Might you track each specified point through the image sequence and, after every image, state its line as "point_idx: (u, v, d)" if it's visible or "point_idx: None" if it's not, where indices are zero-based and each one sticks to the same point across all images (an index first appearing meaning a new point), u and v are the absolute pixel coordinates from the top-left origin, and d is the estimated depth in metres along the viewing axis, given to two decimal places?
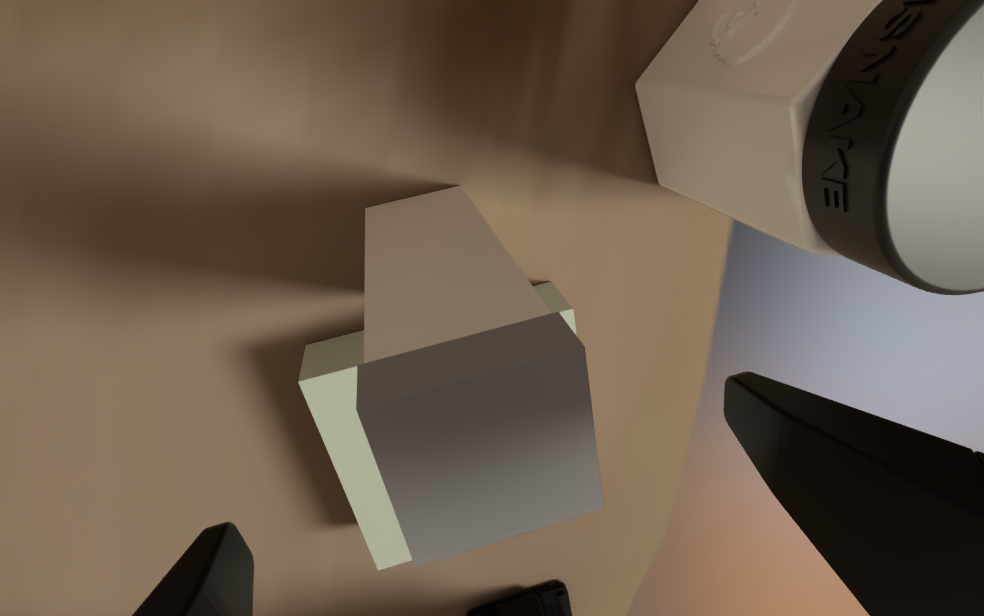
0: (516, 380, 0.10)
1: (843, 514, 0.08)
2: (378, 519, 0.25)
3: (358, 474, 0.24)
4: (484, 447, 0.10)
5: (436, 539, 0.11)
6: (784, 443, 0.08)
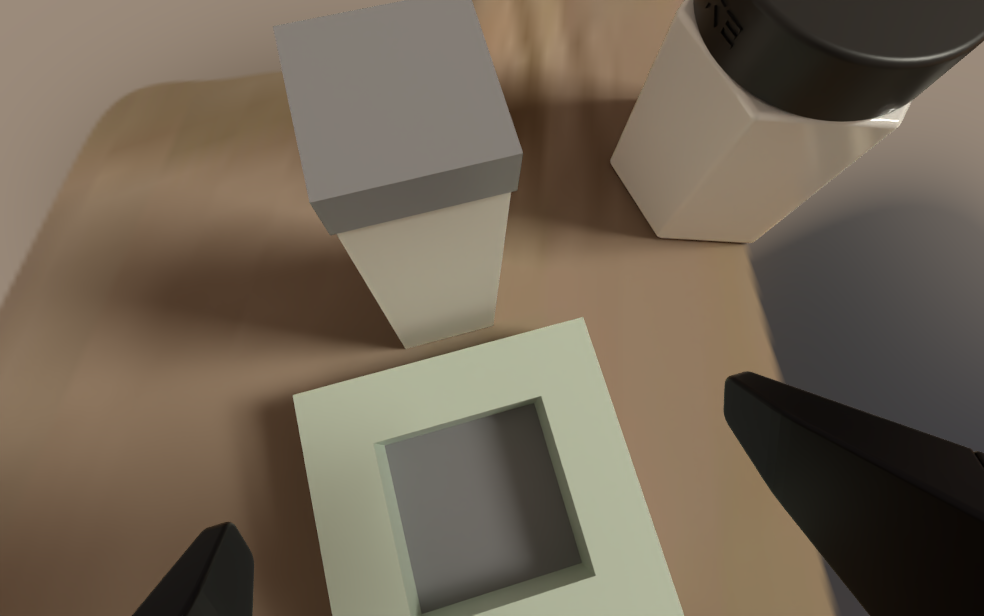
0: (410, 10, 0.11)
1: (843, 514, 0.08)
2: None
3: (343, 536, 0.19)
4: (384, 69, 0.11)
5: (334, 168, 0.10)
6: (784, 443, 0.08)
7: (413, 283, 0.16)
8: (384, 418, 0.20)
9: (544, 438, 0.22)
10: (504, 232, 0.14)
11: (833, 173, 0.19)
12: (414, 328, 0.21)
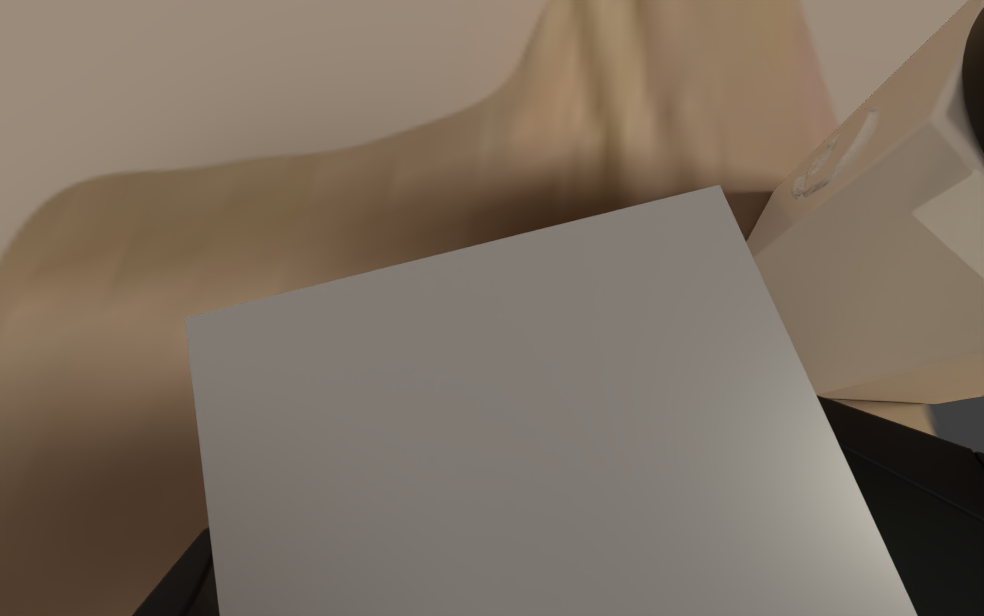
0: (572, 259, 0.04)
1: None
2: None
3: None
4: (514, 463, 0.04)
5: None
6: None
7: None
8: None
9: None
10: None
11: None
12: None
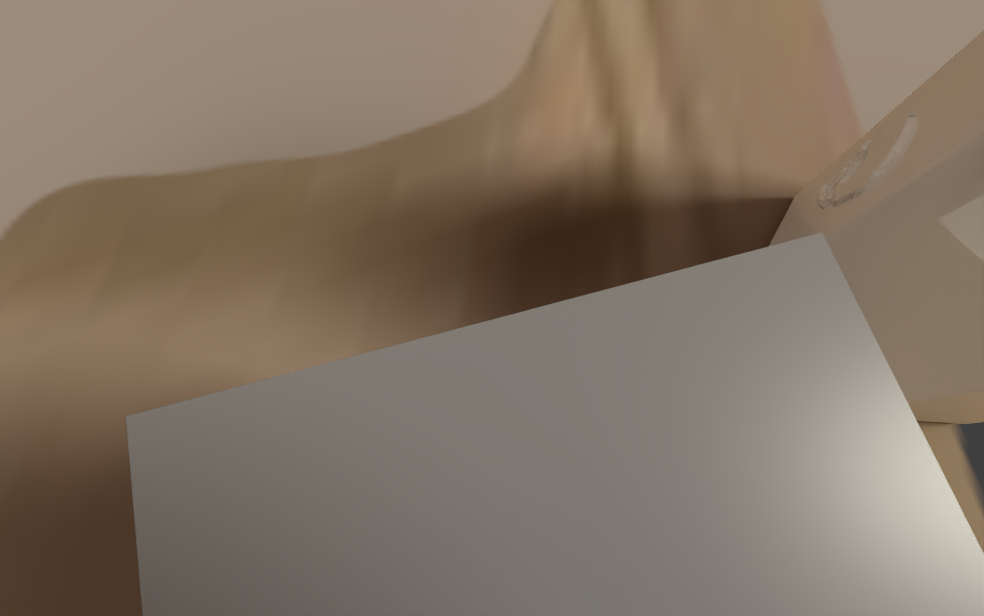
0: (638, 333, 0.03)
1: None
2: None
3: None
4: None
5: None
6: None
7: None
8: None
9: None
10: None
11: None
12: None
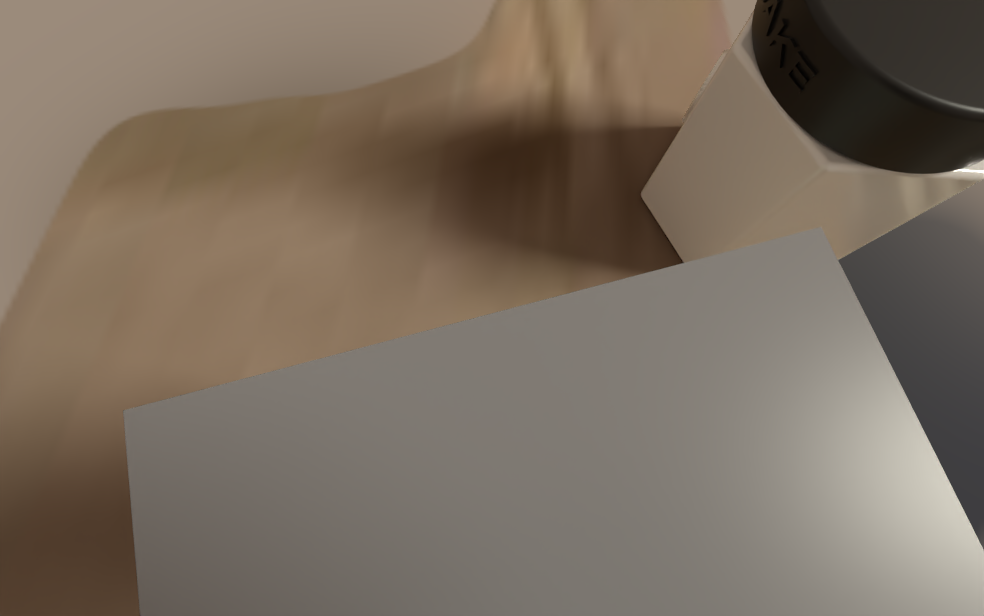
0: (636, 328, 0.03)
1: None
2: None
3: None
4: (568, 615, 0.03)
5: None
6: None
7: None
8: None
9: None
10: None
11: (899, 221, 0.17)
12: None
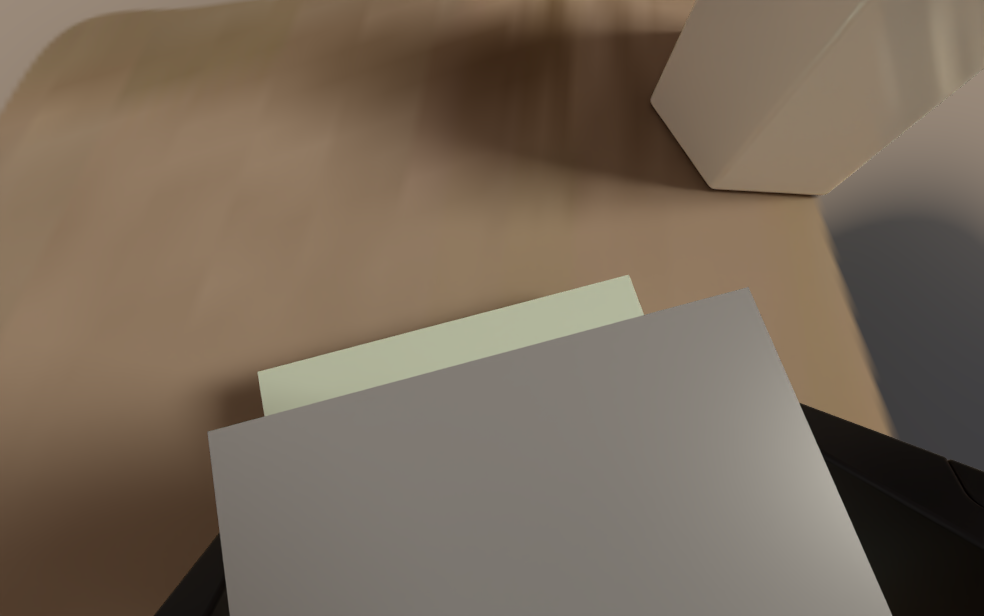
0: (601, 368, 0.04)
1: None
2: None
3: None
4: (543, 587, 0.04)
5: None
6: None
7: None
8: None
9: None
10: None
11: (959, 81, 0.15)
12: None
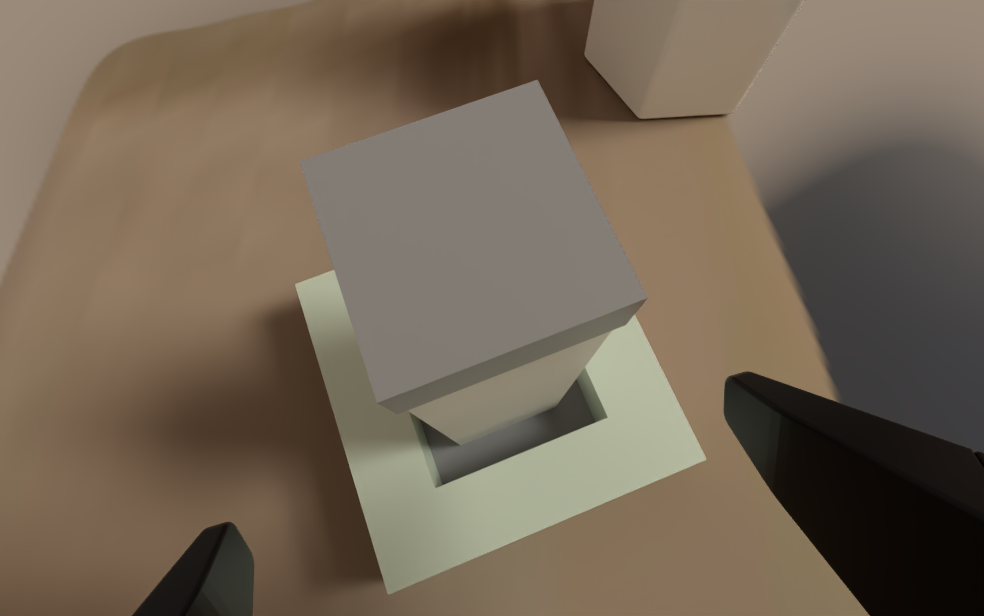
0: (469, 119, 0.09)
1: (843, 514, 0.08)
2: (383, 485, 0.18)
3: (356, 406, 0.19)
4: (448, 201, 0.08)
5: (403, 348, 0.08)
6: (784, 443, 0.08)
7: (481, 409, 0.13)
8: None
9: None
10: (594, 352, 0.12)
11: (797, 2, 0.19)
12: (473, 432, 0.18)
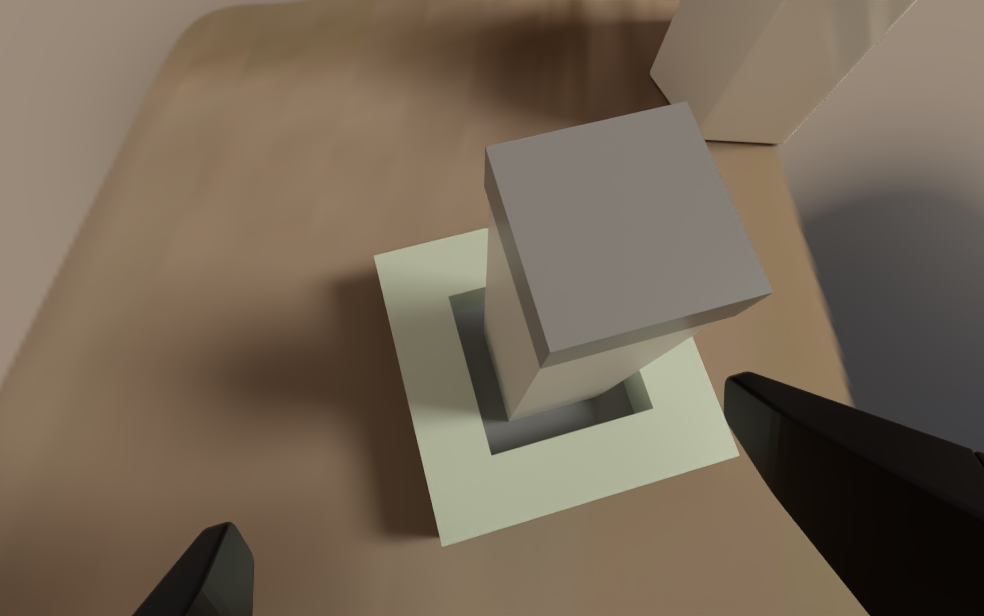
0: (629, 128, 0.11)
1: (843, 514, 0.08)
2: (444, 448, 0.20)
3: (424, 374, 0.21)
4: (610, 194, 0.10)
5: (572, 311, 0.09)
6: (784, 443, 0.08)
7: (567, 383, 0.15)
8: (457, 275, 0.22)
9: None
10: (684, 340, 0.13)
11: (863, 50, 0.21)
12: (531, 408, 0.20)
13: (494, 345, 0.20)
